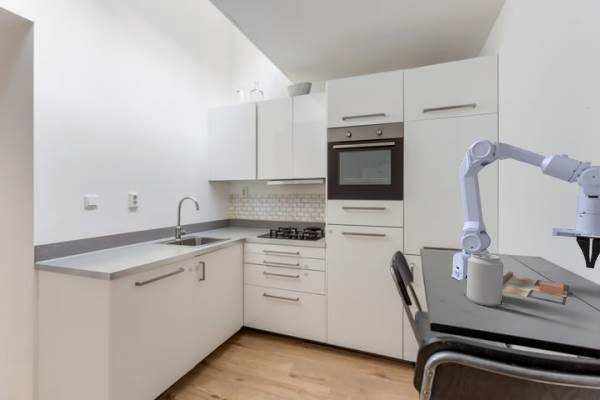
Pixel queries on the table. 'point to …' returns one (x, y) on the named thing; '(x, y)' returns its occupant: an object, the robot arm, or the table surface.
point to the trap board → (526, 287)
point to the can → (485, 279)
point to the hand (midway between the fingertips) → (590, 267)
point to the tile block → (552, 287)
